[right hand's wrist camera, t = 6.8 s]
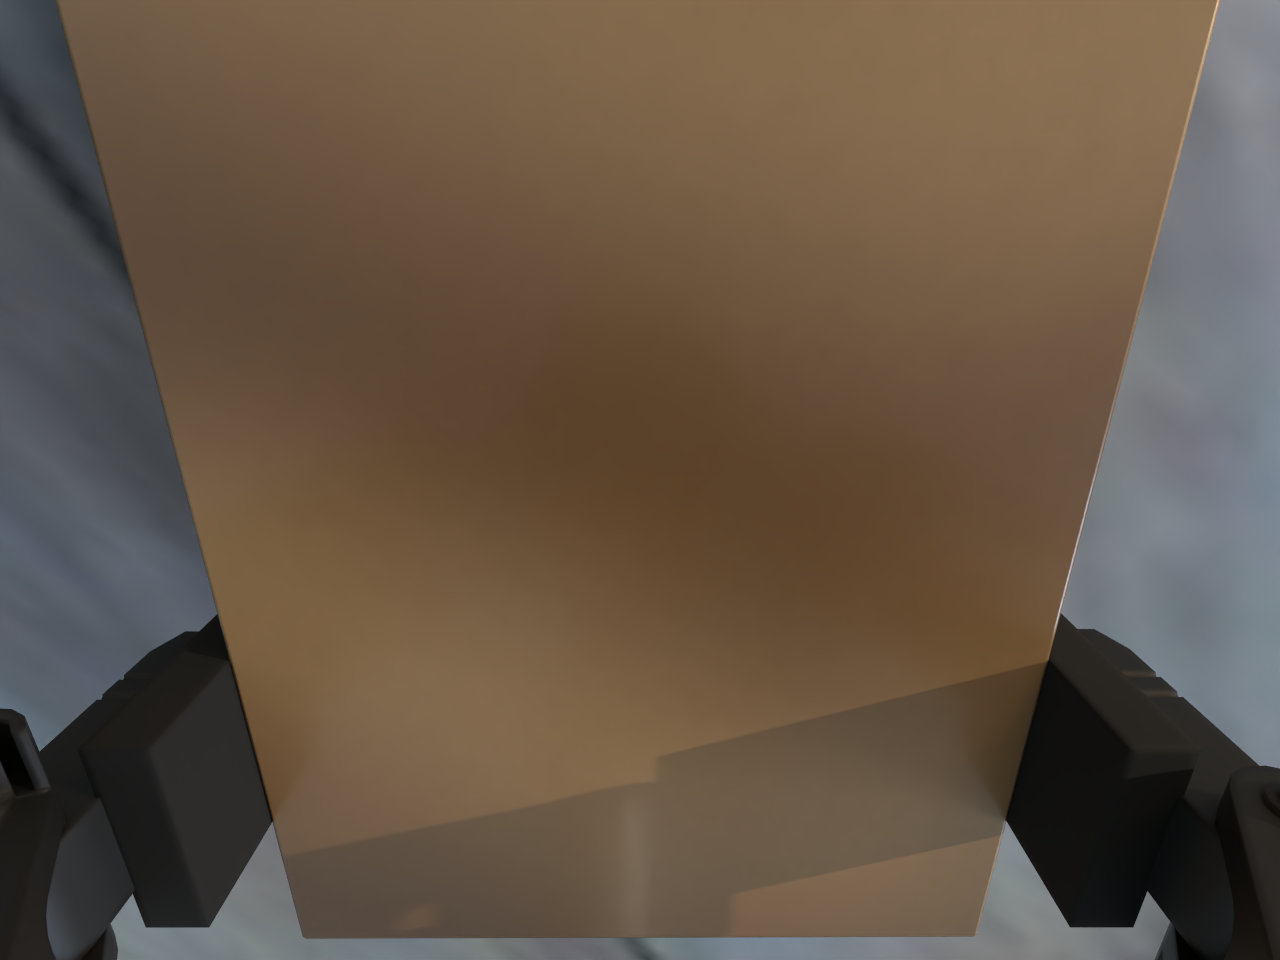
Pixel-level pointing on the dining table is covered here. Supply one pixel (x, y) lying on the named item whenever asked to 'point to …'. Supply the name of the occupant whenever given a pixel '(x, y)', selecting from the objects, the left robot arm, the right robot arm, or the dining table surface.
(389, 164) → the cabinet
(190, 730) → the right robot arm
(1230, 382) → the dining table surface
